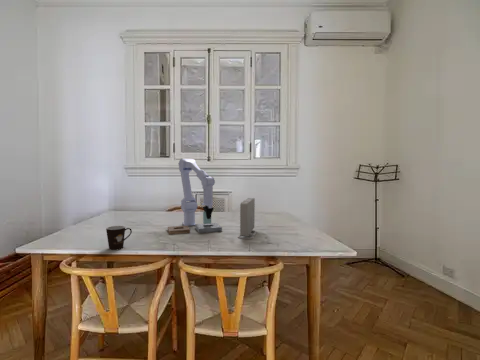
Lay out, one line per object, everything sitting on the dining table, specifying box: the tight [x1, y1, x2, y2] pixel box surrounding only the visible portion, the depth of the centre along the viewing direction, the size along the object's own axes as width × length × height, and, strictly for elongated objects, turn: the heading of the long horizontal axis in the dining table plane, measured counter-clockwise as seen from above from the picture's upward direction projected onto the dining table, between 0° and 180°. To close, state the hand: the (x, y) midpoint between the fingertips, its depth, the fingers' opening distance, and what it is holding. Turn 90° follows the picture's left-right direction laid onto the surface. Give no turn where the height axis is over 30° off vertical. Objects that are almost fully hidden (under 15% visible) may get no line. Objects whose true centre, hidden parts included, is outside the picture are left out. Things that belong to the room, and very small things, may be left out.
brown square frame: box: [167, 225, 191, 235], centre depth 181 cm, size 12×12×2 cm
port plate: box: [194, 222, 223, 234], centre depth 186 cm, size 14×14×2 cm
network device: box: [237, 197, 258, 240], centre depth 173 cm, size 26×9×20 cm, turn 168°
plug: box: [202, 211, 212, 224], centre depth 186 cm, size 3×4×7 cm
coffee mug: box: [105, 225, 132, 251], centre depth 146 cm, size 12×9×10 cm
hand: (208, 218), depth 186 cm, fingers closed on plug, 3 cm apart
